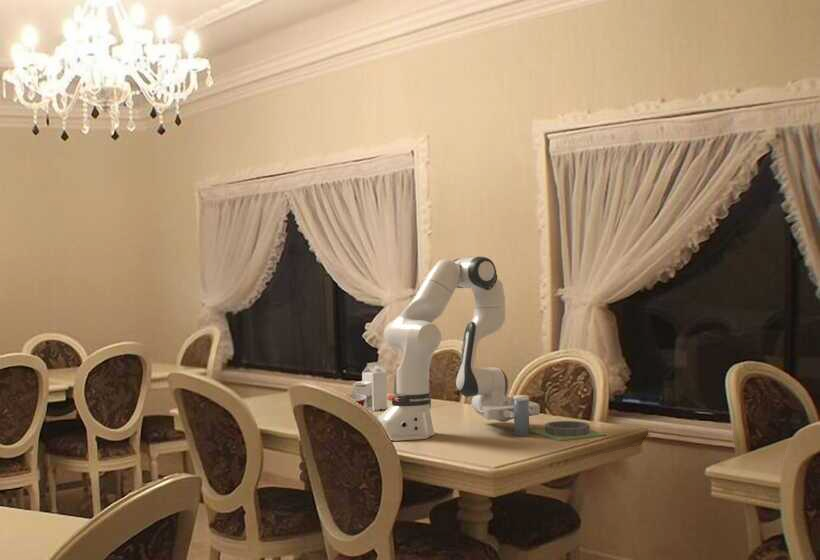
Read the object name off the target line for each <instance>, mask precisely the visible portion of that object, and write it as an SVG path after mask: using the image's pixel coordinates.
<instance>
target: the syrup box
mask: <svg viewBox="0 0 820 560" xmlns="http://www.w3.org/2000/svg"><path fill="white" fill-rule="evenodd" d="M352 394H361V395H365V396H366V399H365V402H364V405H363V406H364V407H366V408H367V409H368V410H370V411H371V412H372V413H373V411H372V382H368V381H362V380H361V381H357V382H356V381H355V382H353V383H352Z"/></svg>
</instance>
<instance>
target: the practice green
mask: <svg viewBox="0 0 820 560" xmlns="http://www.w3.org/2000/svg"><path fill="white" fill-rule="evenodd" d="M590 427H591V426H590V424H589V423H588V422H583V421H576V420H575V421H573V420H559V421H557V420H556V421H550V422H549V421H548V422H547V423H545V424H544V428H537V429H529V433H530V434H531V433H533V434H534V435H539V436H542V437H545V438H548V439H552V440H555V441H559V442H562V441H570V440H572V441H573V440H581V439H589V438H596V437H597V436H598V437H604V435H606V436H607V433H605V432H601V431H597V430H595V429H591V428H590Z"/></svg>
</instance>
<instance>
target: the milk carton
mask: <svg viewBox="0 0 820 560" xmlns="http://www.w3.org/2000/svg"><path fill="white" fill-rule="evenodd" d="M381 362H382V361H376V362H375V361H374V362H369V363H368V362H367V363H366V366H365V367H364V369H363V371H362V372H361V378H362V379H361V381H368V382H372V410H373V411H372V412H375V410H376V411H381V410H380V409H382V410H387V409H388V400H387V398H386V397H387V396H388V392H387V391H388V388H387V387H388V382H387V371H386V369H385V368H384V367H383V365H382V363H381Z"/></svg>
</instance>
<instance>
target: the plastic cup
mask: <svg viewBox="0 0 820 560" xmlns="http://www.w3.org/2000/svg"><path fill="white" fill-rule="evenodd" d="M345 394H346V395H347V396H349V397H350V398H352V399H354V400H355V401H356V402H358V403H359V404H361V405H362V406H363V405H364V402H365V399H366V396H365V395H361V394H353V393H345Z"/></svg>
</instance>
